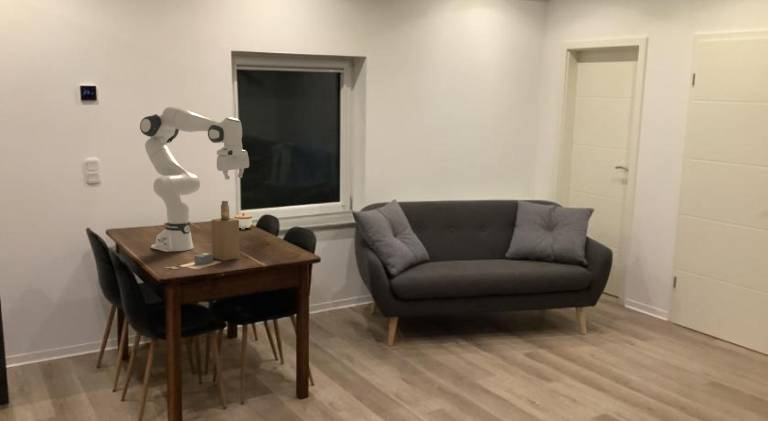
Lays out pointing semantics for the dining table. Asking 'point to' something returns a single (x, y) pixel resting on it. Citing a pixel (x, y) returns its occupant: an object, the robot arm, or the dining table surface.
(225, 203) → the peg
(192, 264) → the plywood panel
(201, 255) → the grey rectangular block
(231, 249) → the wooden block
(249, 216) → the lidded jar
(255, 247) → the dining table surface
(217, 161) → the robot arm
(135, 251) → the dining table surface
